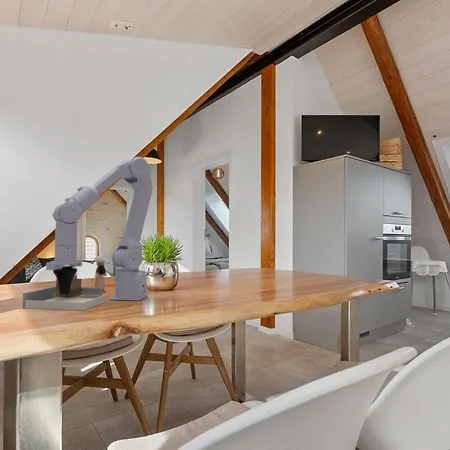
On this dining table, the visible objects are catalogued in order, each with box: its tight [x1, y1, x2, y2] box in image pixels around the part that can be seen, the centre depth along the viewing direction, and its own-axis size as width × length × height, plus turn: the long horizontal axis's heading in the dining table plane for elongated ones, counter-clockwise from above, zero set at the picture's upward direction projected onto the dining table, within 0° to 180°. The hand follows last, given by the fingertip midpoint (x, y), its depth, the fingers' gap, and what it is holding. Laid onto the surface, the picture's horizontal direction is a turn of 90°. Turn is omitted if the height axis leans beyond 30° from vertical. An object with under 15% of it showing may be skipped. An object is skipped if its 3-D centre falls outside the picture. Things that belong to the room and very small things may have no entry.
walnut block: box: [55, 278, 82, 297], centre depth 107 cm, size 5×5×5 cm
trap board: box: [22, 286, 107, 311], centre depth 104 cm, size 18×13×4 cm
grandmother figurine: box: [93, 255, 108, 294], centre depth 127 cm, size 8×4×13 cm, turn 5°
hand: (64, 294), depth 103 cm, fingers closed
